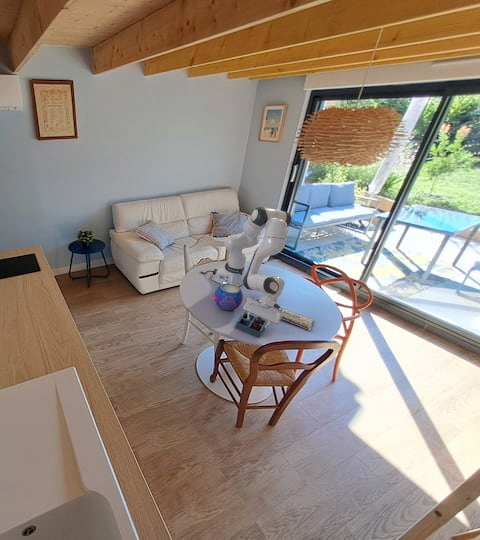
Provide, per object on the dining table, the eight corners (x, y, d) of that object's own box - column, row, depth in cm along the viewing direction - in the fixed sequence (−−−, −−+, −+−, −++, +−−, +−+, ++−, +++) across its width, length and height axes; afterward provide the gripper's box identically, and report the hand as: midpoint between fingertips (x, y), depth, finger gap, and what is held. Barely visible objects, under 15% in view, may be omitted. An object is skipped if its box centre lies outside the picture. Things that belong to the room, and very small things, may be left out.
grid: (235, 327, 169) (236, 323, 168) (243, 316, 178) (244, 312, 177) (258, 337, 162) (260, 332, 160) (265, 325, 171) (267, 320, 169)
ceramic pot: (239, 301, 192) (244, 282, 185) (240, 317, 178) (245, 297, 170) (213, 296, 197) (216, 278, 190) (211, 312, 183) (215, 292, 175)
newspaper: (268, 315, 179) (269, 312, 178) (274, 308, 187) (275, 305, 186) (309, 331, 165) (310, 328, 164) (313, 323, 174) (314, 319, 173)
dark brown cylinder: (250, 330, 166) (254, 317, 161) (252, 327, 168) (256, 314, 163) (257, 333, 163) (261, 320, 158) (259, 330, 166) (263, 317, 161)
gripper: (248, 294, 168) (237, 314, 167) (285, 309, 156) (274, 331, 154) (249, 297, 173) (239, 317, 172) (285, 311, 161) (274, 333, 159)
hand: (256, 324), depth 163 cm, fingers open, 8 cm apart
